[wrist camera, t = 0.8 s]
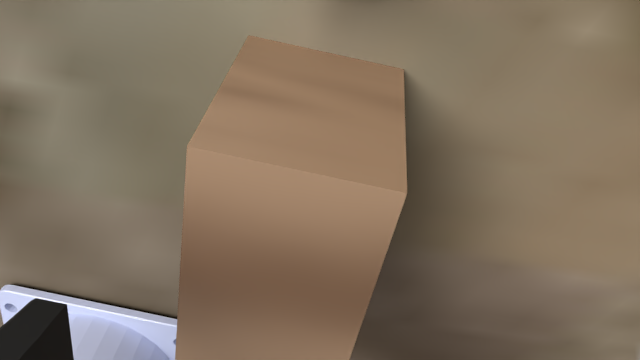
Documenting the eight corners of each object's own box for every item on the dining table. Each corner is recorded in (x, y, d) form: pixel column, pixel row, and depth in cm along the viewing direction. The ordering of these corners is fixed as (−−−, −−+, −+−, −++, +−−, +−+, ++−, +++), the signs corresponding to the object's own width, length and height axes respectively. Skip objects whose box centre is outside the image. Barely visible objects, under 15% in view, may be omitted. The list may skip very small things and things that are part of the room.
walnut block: (351, 245, 21) (337, 393, 16) (227, 219, 20) (175, 359, 16) (403, 68, 16) (407, 193, 12) (249, 34, 16) (186, 145, 11)
